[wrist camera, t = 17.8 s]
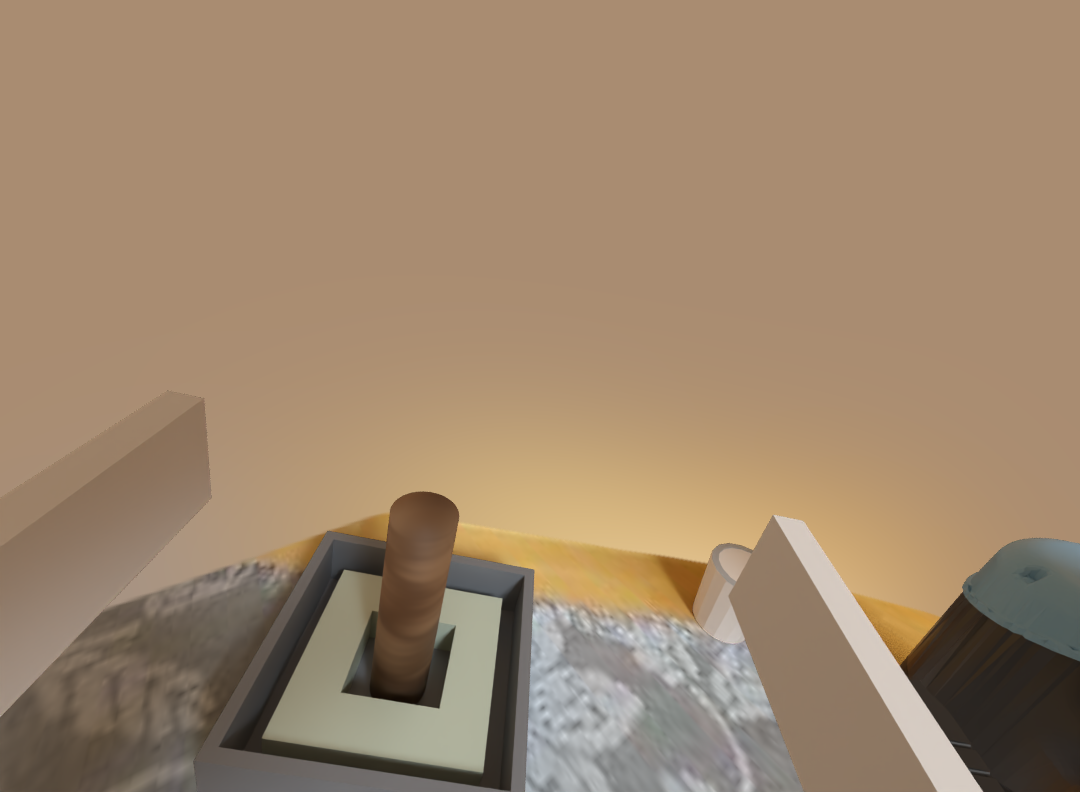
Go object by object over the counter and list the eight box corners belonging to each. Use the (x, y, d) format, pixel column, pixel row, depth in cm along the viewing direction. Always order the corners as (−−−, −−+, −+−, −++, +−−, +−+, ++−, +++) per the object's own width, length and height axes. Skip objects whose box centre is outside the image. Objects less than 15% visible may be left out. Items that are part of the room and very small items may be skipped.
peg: (431, 662, 39) (463, 498, 32) (419, 715, 35) (453, 543, 28) (379, 654, 39) (400, 486, 32) (361, 706, 35) (381, 530, 28)
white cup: (672, 604, 51) (697, 553, 48) (713, 583, 55) (739, 535, 52) (727, 661, 47) (758, 608, 44) (767, 634, 51) (799, 584, 48)
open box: (520, 613, 46) (534, 569, 44) (504, 857, 30) (524, 810, 28) (324, 578, 45) (327, 530, 42) (200, 815, 29) (193, 760, 26)
